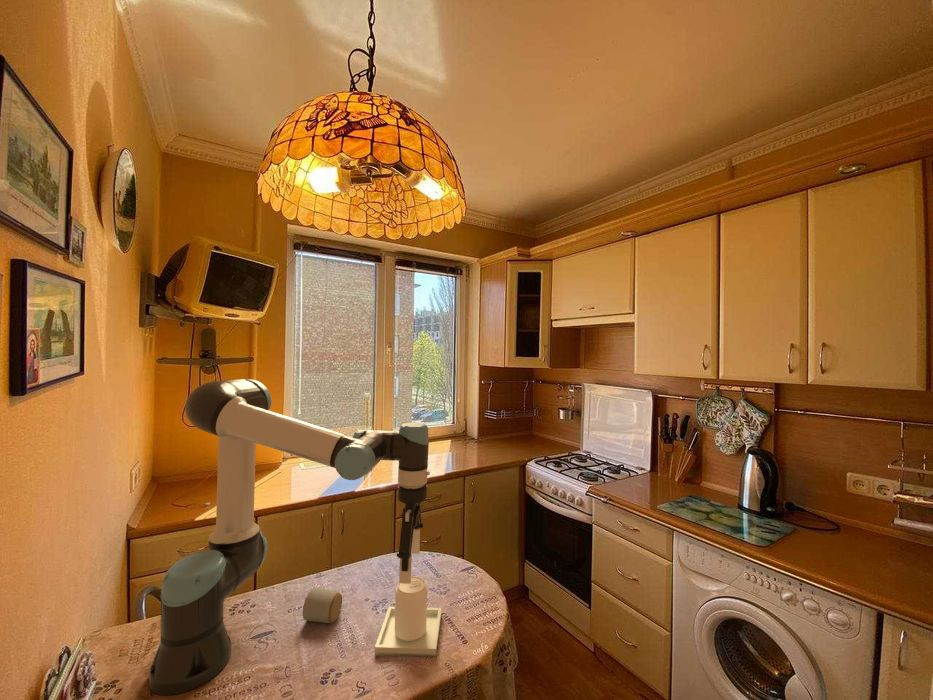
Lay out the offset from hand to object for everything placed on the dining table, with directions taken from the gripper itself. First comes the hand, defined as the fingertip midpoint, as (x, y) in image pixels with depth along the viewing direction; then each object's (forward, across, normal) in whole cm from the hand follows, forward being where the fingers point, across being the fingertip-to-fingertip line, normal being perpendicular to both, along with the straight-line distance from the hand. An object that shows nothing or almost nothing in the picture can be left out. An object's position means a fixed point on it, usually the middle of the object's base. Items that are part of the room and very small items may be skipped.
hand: (410, 566), depth 97 cm
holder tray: (+17, 0, -1) cm, 17 cm away
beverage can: (+17, 0, -1) cm, 17 cm away
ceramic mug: (+18, +6, +24) cm, 30 cm away
